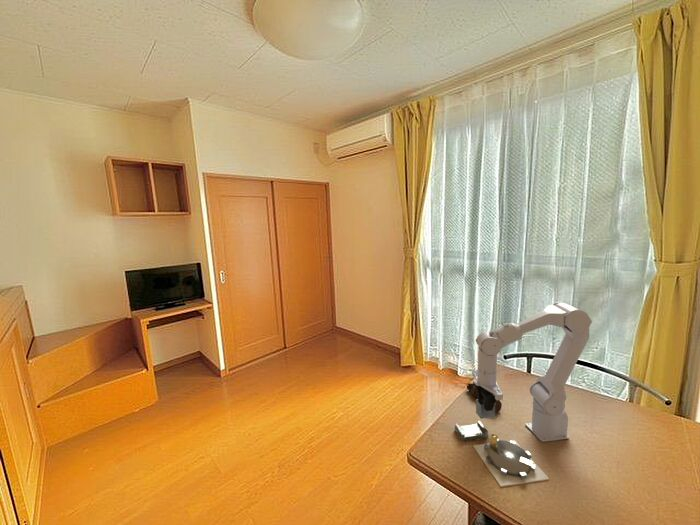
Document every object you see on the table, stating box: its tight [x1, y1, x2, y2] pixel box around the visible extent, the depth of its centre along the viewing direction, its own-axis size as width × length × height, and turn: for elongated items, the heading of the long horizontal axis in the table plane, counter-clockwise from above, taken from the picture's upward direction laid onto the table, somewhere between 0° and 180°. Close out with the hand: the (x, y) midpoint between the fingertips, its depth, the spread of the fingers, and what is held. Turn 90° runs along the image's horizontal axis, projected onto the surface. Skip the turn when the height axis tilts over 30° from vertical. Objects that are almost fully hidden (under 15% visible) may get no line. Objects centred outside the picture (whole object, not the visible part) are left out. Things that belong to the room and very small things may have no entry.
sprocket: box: [484, 433, 535, 479], centre depth 84 cm, size 13×13×6 cm
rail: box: [454, 420, 489, 442], centre depth 96 cm, size 9×5×2 cm, turn 96°
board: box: [473, 439, 550, 488], centre depth 85 cm, size 14×14×1 cm
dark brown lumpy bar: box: [466, 382, 503, 414], centre depth 113 cm, size 6×5×15 cm
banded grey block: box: [475, 398, 496, 420], centre depth 97 cm, size 5×3×5 cm, turn 96°
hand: (485, 406), depth 97 cm, fingers closed on banded grey block, 3 cm apart
